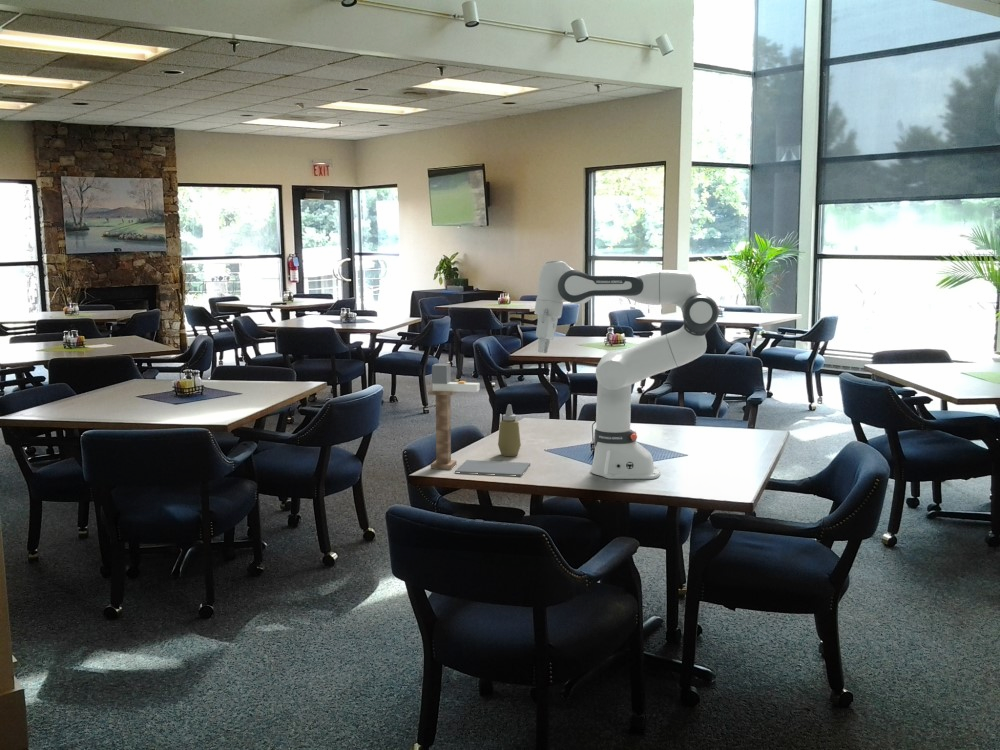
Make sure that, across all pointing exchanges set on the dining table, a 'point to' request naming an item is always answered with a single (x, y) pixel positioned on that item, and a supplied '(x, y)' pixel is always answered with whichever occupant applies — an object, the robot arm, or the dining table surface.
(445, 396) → the walnut stand
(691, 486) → the dining table surface
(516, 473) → the grey flat rectangular slab
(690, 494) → the dining table surface
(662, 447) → the dining table surface
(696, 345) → the robot arm
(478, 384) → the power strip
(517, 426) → the squeeze bottle
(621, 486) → the dining table surface
